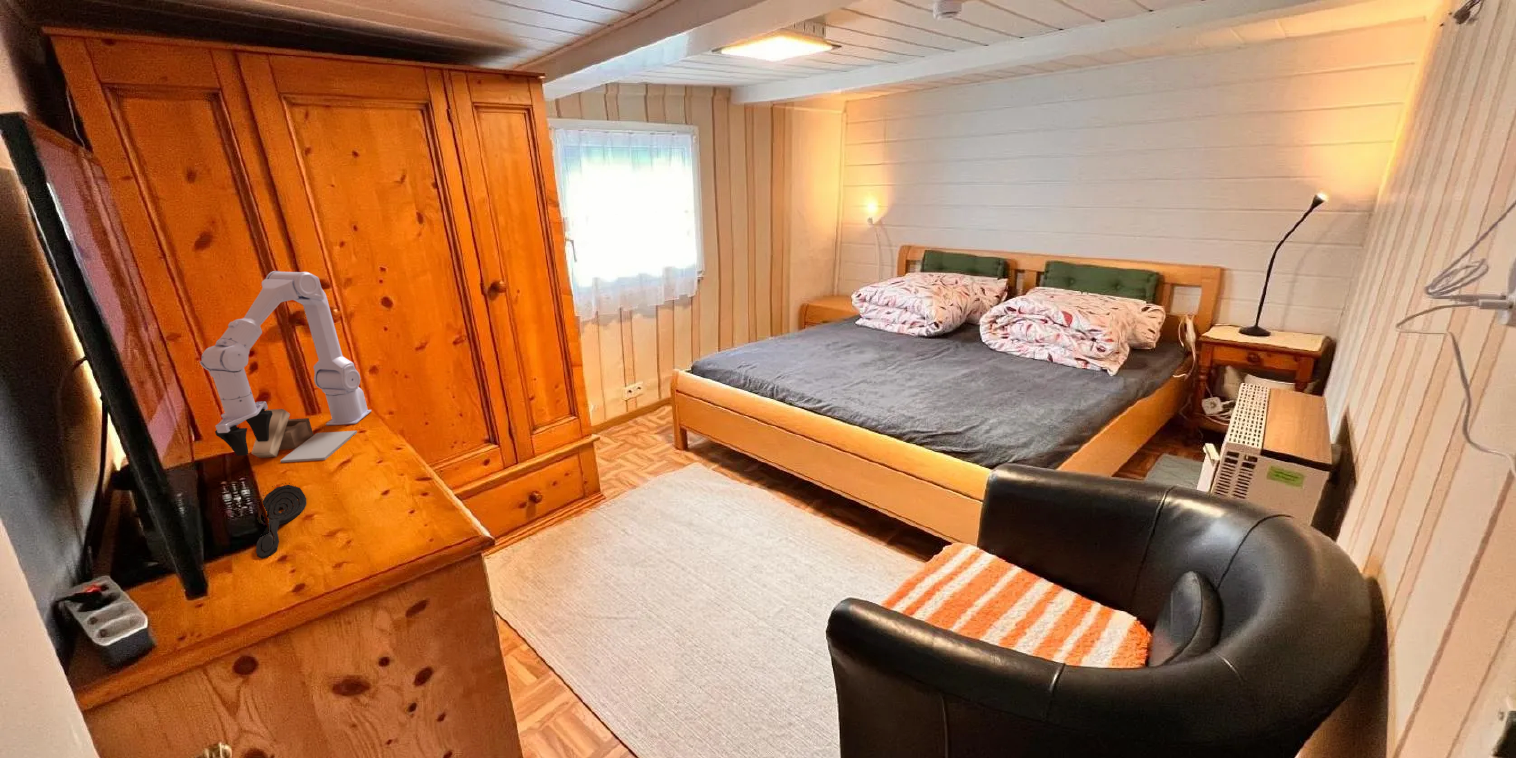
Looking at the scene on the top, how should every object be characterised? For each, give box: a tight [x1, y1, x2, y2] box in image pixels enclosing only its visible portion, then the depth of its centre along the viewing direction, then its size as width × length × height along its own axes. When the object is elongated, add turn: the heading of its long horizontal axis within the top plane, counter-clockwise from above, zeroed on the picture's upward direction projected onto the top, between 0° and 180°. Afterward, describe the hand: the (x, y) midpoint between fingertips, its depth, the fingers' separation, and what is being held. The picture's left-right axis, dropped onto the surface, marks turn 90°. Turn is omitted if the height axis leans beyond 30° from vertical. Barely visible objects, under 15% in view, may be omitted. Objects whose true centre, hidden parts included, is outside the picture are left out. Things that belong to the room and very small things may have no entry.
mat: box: [280, 430, 358, 464], centre depth 152 cm, size 16×10×1 cm, turn 8°
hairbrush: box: [255, 482, 307, 559], centre depth 118 cm, size 8×4×25 cm
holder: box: [279, 417, 314, 450], centre depth 153 cm, size 8×8×5 cm
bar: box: [251, 408, 291, 459], centre depth 148 cm, size 12×4×3 cm
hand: (253, 447), depth 142 cm, fingers open, 7 cm apart
